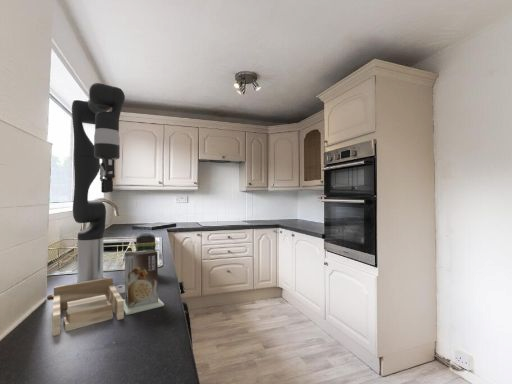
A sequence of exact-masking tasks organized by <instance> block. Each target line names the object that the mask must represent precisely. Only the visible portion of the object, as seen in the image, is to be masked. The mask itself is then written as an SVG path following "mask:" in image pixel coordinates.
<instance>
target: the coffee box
mask: <svg viewBox="0 0 512 384" xmlns="http://www.w3.org/2000/svg"><path fill="white" fill-rule="evenodd" d="M158 266H159V264H158V251H156V249H155V250H144V251H136V250H135V251H129V252H124V285H125V292H124V299H125V303H126V305H127V307H128V308H132V307H136V306H141V305H145V304H150V303H154V302H158V298H159V272H158V271H159V269H158V268H159V267H158Z"/></svg>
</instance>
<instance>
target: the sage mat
mask: <svg viewBox="0 0 512 384" xmlns="http://www.w3.org/2000/svg"><path fill="white" fill-rule="evenodd" d="M122 299H123V298H122ZM123 300H124V315H125V316H128V315H132V314H136V313H140V312H144V311H149V310H152V309H156V308H157V309H158V308H161V307H164V306H165V303H164V302H163V301H162V300H161V299H160V298H159V297H158V302H154V303H150V304H145V305H141V306H136V307H132V308H128V307H127V305H126V303H125V298H124V299H123Z"/></svg>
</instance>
